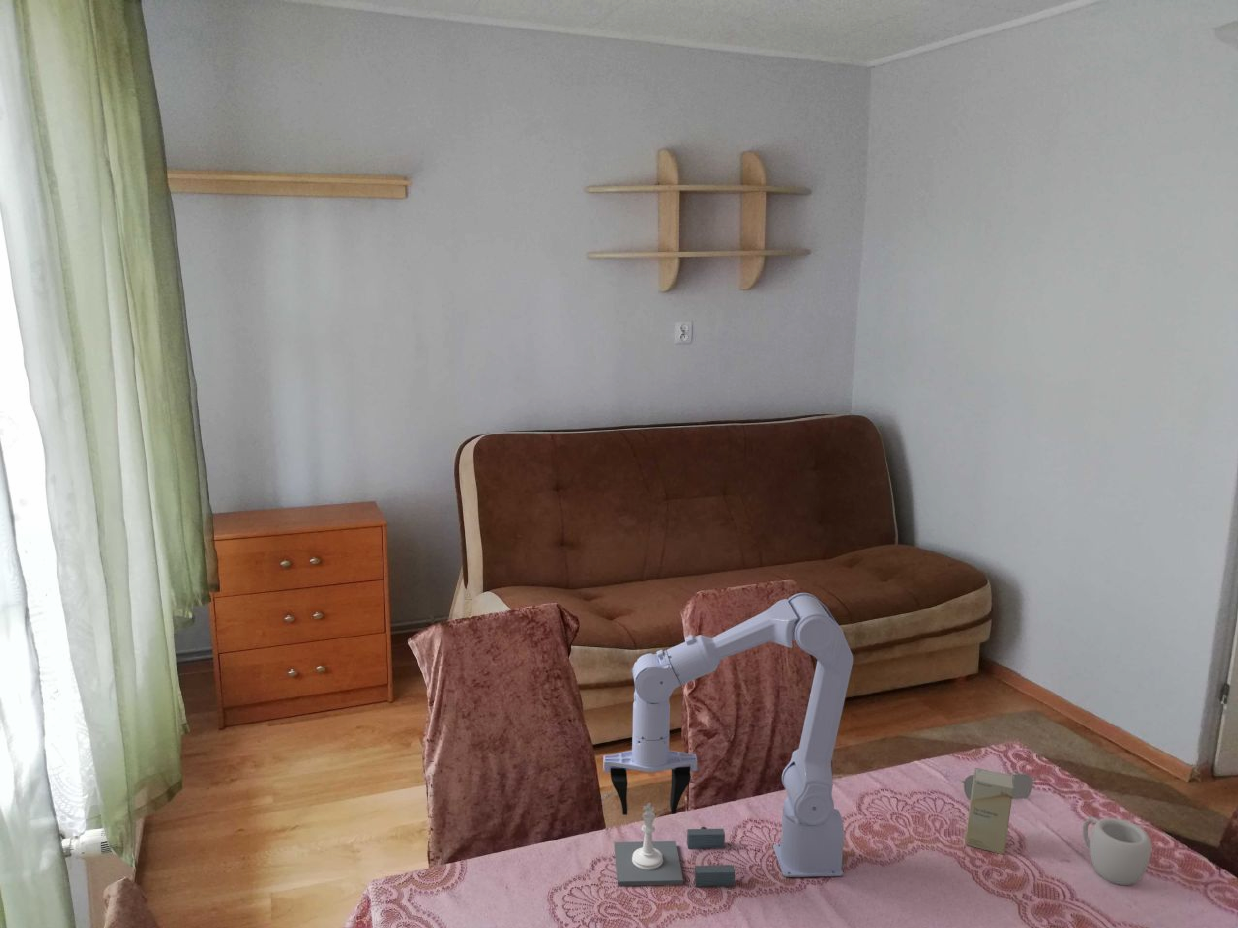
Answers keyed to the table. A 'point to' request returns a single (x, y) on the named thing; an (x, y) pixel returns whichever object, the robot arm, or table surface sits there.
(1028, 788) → the sunglasses
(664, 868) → the mat
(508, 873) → the table surface
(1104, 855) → the mug
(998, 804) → the skincare box
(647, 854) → the chess piece
